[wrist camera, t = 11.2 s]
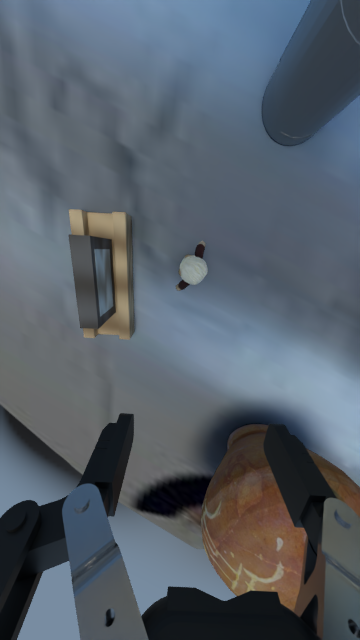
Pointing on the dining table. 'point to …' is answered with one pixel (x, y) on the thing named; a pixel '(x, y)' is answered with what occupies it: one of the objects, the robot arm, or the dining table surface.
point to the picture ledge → (121, 235)
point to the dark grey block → (93, 279)
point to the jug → (259, 519)
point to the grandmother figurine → (193, 268)
